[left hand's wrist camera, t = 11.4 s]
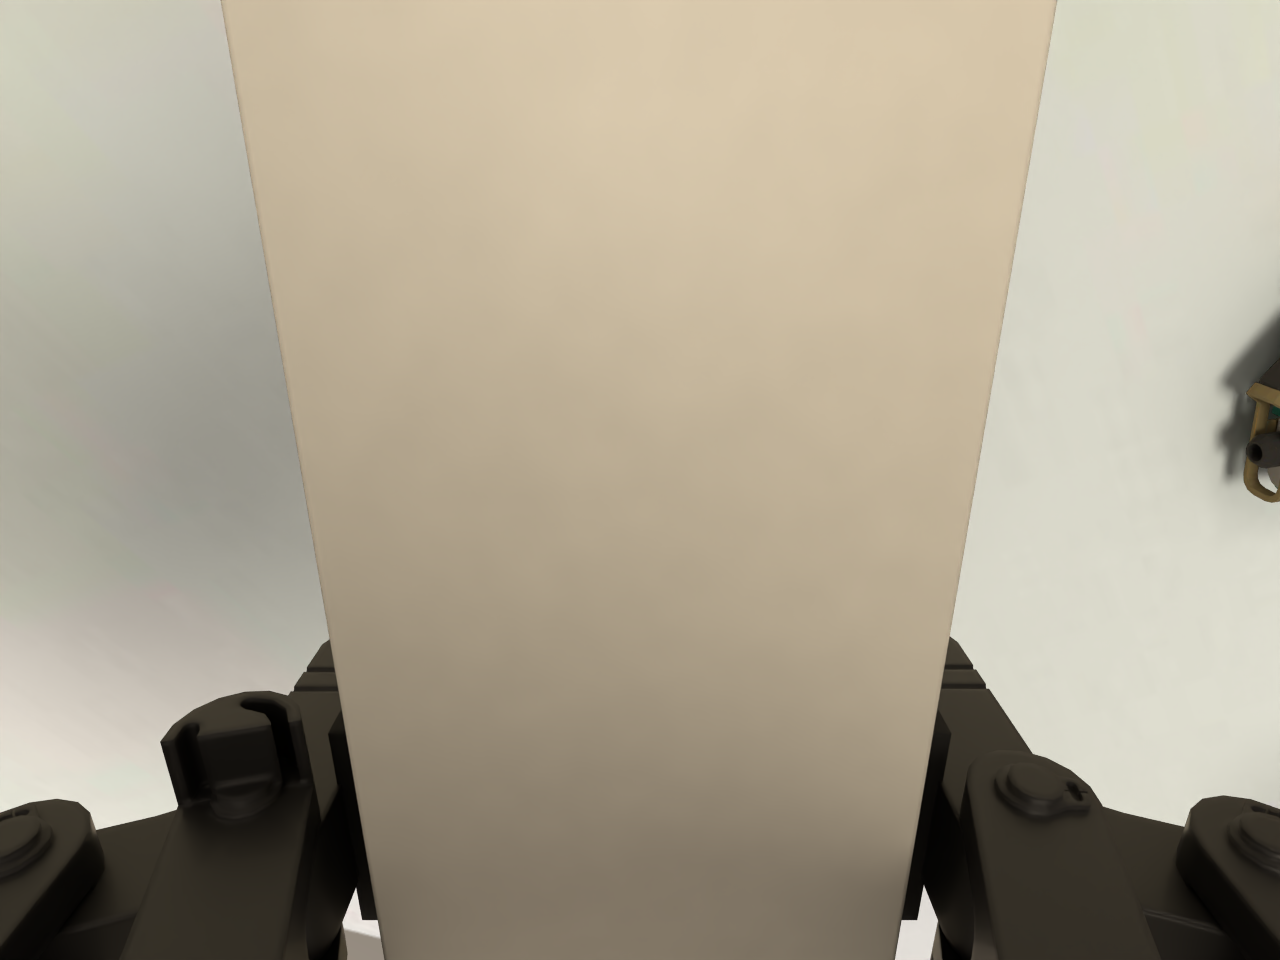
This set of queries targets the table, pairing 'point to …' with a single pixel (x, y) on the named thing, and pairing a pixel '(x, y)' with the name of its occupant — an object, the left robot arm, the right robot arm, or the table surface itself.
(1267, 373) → the spray gun
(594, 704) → the bar
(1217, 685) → the table surface
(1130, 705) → the table surface
